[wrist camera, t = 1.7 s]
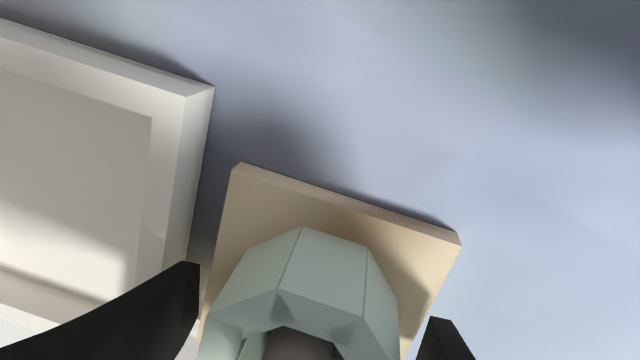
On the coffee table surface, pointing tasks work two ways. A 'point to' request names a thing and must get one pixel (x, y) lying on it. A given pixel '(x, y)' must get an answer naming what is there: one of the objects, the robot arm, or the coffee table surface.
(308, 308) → the ring
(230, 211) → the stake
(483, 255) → the coffee table surface
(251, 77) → the coffee table surface
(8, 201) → the tray
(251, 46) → the coffee table surface
